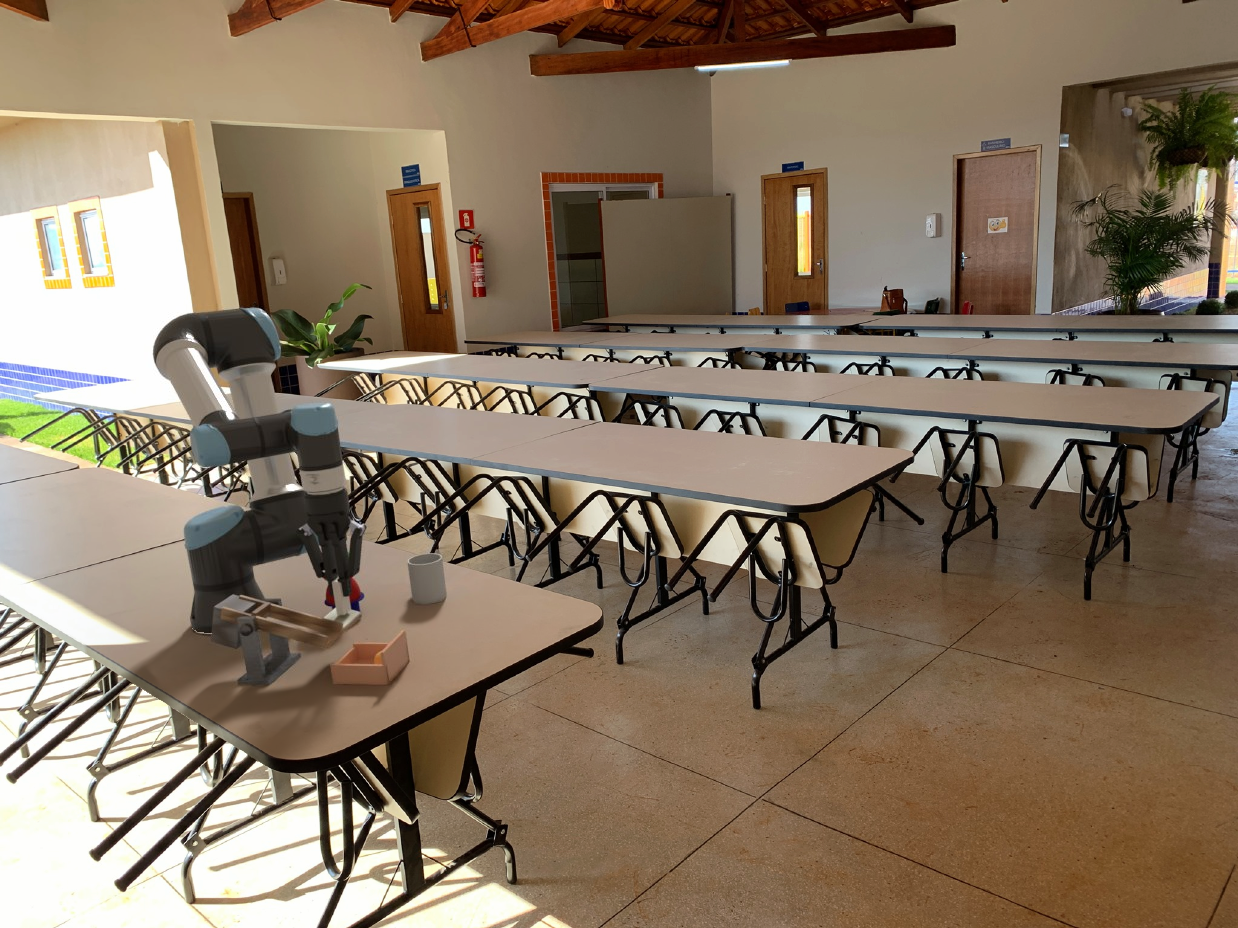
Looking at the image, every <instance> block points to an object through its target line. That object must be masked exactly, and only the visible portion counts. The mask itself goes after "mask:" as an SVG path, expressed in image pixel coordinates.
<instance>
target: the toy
mask: <svg viewBox="0 0 1238 928" xmlns="http://www.w3.org/2000/svg"><path fill="white" fill-rule="evenodd" d="M348 557H349V551H348ZM312 569H313V570H314V568H313V567H312ZM338 577H339V576H337V578H338ZM350 579H351V586H352V594H351V595H350V596H349V599H350V606H351V610H355V611H358V612H361V606H360V601H362V600H364V598H365V594H364V592H362V591H361V588H360V585H359V584H358V583H357V581H356V579H355V578H353V577H352V578H350ZM323 580H325V581H326V582H328V581H327V580H326V579H325V578H323ZM324 605H325V606H327V607H330V608H331V611H332V610H333V609H334V608H336V605H335V599H334V597H331V596H330V593H329V586H328V585H327V586H326V590H325V600H324Z"/></svg>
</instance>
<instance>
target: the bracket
mask: <svg viewBox="0 0 1238 928" xmlns="http://www.w3.org/2000/svg"><path fill="white" fill-rule="evenodd" d="M263 601H265V602H269V603H272V604H276V605H279V606H283V603H282V598H265V600H263ZM237 622H238V627H239V633H240V638H241V644H242V646H241V650H242V654H243V659H244V665H245V670H246V671H245V673H244V674H242V676H241V677H239V678H238V679H237V680H236V684H237V685H248V686H249V685H250V686H256V685H257V686H258V685H259V686H270V685H271V684H272V683H273V682H275V680H276V679H277V678H279V677H280V676H281V675H282V674H284V673H285V672H286V671H287V670H288V669H289V668H291V666H293V665H294V664H295V663H296V662H297V661H299V660H300V658H302V656H301V652H290V645H289V638H286V637H282V636H279V635H275V634H272V633H268V638H269V644H270V649H271V652H270V653H269V654H268V655H266V656H265V657H264V656H263V655H264V654H263V650H262V644H261V638H260V632H259V631H260V630H258V626H257V620H256V617H239V618H237Z"/></svg>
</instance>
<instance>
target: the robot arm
mask: <svg viewBox="0 0 1238 928" xmlns="http://www.w3.org/2000/svg"><path fill="white" fill-rule="evenodd" d="M152 348H153V349H152V358H153V362H154V364H155V367H156V369H157V371H158V372H159V374H160V375H161V376H162V377H163V378H165V380H168V381H170V384H171V386H172V387H173V389H174V391H175V393H176V395H177V396H178V398H179V400H180V402H181V403H182V406H183V408H184V411H186V413H187V415H188V417H189V419H190V421H191V423H192V425H193V427H192V428H191V429H190V431H189V440H190V447H191V452H192V455H193V457H194V460H195V463H196V464H197V465H198V466H199V467H201V468H213V467H224V466H227V465H232V464H233V465H234V464H239V463H242V462H247V466H248V470H249V474H250V478H251V483H252V486H253V490H254V493H253V495H252V496H251V498H250V499H249V502H248V503H249V508H250V509H248V510H244V509H243V507H242V506H240V505H236V504H235V505H234V504H233V505H232V504H231V505H227V506H220V507H219V506H218V507H216V508H211V509H209V510H206V511H204V512H201V513H199V514H197V515H195V516H193V517H192V518H190V519H189V520H188V521H187V522H186V524H184V527H183V536H184V537H183V538H184V548H185V550H186V553H187V554H186V555H187V559H188V564H189V568H190V569H189V571H190V575H191V581H192V587H193V591H194V592H193V598H192V604H191V611H190V616H189V621H190V627H191V629H192V628H193V629H194V630H196V631H197V632H204V633H212V622H213V611H214V606H216V605H217V604H219V603H221V602H222V601H224V600H225V599H227V598H228V597H230V596H231V595H237V596H240V595H244V596H247V597H251V598H254V599H258V600H261V601H263V600H265V599H266V597H265V595H264V594H263V592H262V590H261V588H260V586H259V584H258V583H257V580H256V579H255V574H254V567H256V566H260V565H265V564H268V563H273V562H277V561H281V560H285V559H289V558H292V557H301V555H303V554H307V556H308V558H309V561H310V563H311V565H312V569H313V568H314V569H313V570H314V573H315V575H316V577H317V578H318V579H324V578H325V579H326V580H327V581H326V580H325V579H324V580H325V581H326V582H327V586H329V593H330V596H331V597H334V599H335V605H336V612H337V615H345V614H346V613H347V612H349V611H350V610H351V606H350V599H349V596H350V595H351V594H352V586H351V579H350V578H353V577H355V576H356V575H357V574H359V573H360V570H361V569H360V568H361V559H362V547H363V536H364V535H365V531H366V530H367V525H366V524H365V523H361V524H359V523H358V522H356V521H354V518H353V514H351V512H350V501H349V500H350V499H349V493H348V489H347V488H346V487H345V486H346V484H347V480H346V475H345V467H344V461H343V454H342V447H341V440H340V433H339V421H338V418H337V415H336V411H335V407H334V405H333V404H331V403H330V402H309V403H304V404H299V405H296V406H294V407H293V408H287V409H284V410H281V411H280V409H279V406H278V401H277V397H276V393H275V389H274V383H273V381H272V376H271V375H272V373H273V372H274V370H275V369H276V368H277V365H276V361H277V360H279V359H280V357H281V355H282V354H281V353H282V350H281V349H282V348H281V341H280V337H279V334H278V331H277V328H276V326H275V324H274V322H273V320H272V319H271V317H270V315H269V314H267V311H265V310H263V309H261V308H259V307H250V308H249V307H247V308H244V307H239V308H232V309H231V308H230V309H221V310H220V309H219V310H214V311H213V310H211V311H202V312H188V313H185V314H182V315H179V316H177V317H175V318H173V319H171V320H170V321H169V322H167V324H165V325H164V326H163V328H162V329H161V330H160V331H159V333H158V334H157V336H156V339H155V340H154V344H153V346H152ZM212 368H213V369H214V368H216V371H217V374H218V378H220V379H221V380H223V381H225V382H226V383H227V384H228V387H229V391H230V396H231V400H232V403H231V402H230V400H229V398H228V396H227V395H226V392H224V389H223V388H222V387H221V384H220V383H219V381H218V379H217V378H216V376H215V374H214V373H213V371H212ZM291 453H296V455H297V462H298V467H299V474H300V480H301V485H302V486H301V485H300V484H298V483H297V479H296V474H295V471H294V467H293V463H292V458H291ZM349 531H350V532H349ZM348 532H349V534H350V535H351V537H350V541H349V548H348V545H347V540H348V536H347V533H348ZM348 549H349V550H348ZM348 552H349V557H348ZM337 576H339V577H338V578H337Z"/></svg>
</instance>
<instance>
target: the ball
mask: <svg viewBox="0 0 1238 928" xmlns="http://www.w3.org/2000/svg"><path fill="white" fill-rule="evenodd" d="M380 652H381V651H380ZM380 652H379V653H377V655H376V656H375V658H374V664H382V660H381V653H380Z"/></svg>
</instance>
